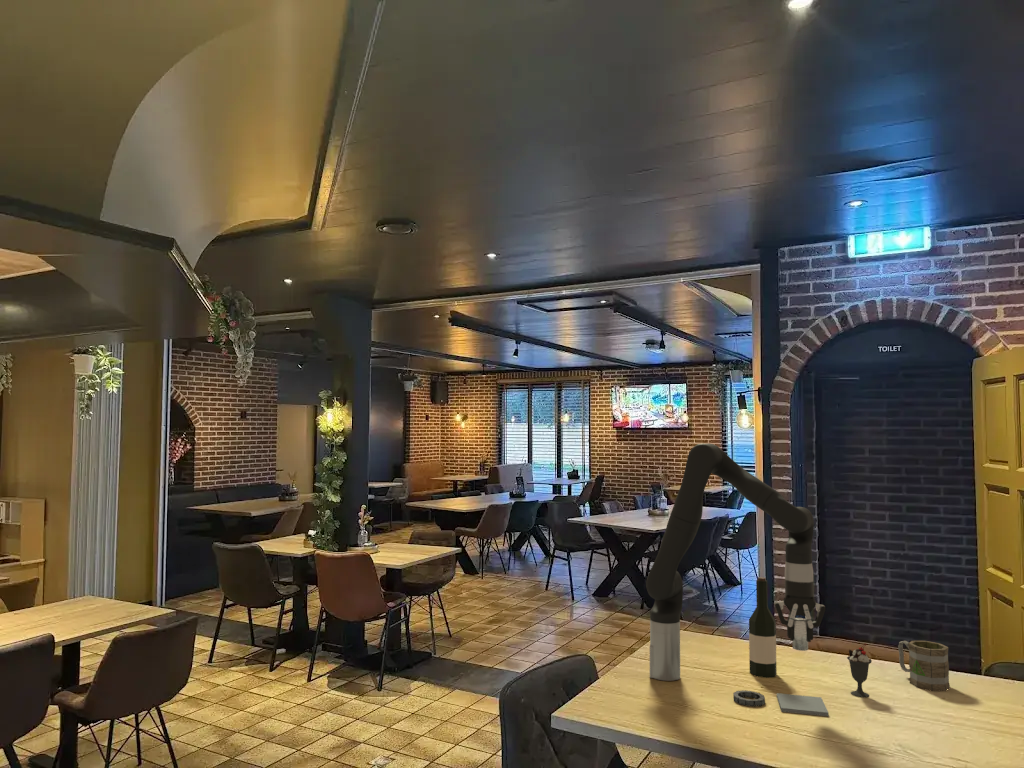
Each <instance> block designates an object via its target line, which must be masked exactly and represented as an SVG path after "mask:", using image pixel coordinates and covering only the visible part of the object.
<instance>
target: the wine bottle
mask: <svg viewBox="0 0 1024 768" xmlns="http://www.w3.org/2000/svg"><path fill="white" fill-rule="evenodd" d="M755 581H756V584H755V585H756V586H755V589H756V607H755V609H754V610H753V612H752V613H751V616H750V617H749V619H748V639H749V640H748V642H749V643H748V644H749V646H748V649H749V651H748V652H749V654H748V655H749V659H748V660H749V674H751V675H752V674H753V676H754V675H755V676H754V677H757V676H758V677H759V678H766V679H769V678H776V676H777V670H778V669H777V625H776V624H777V622H776V621H777V620H776V619H775V617H774V615H773V613H772V612H771V610H770V608H769V606H768V605H769V604H768V603H769V602H768V580H766V577H764V576H763V577H762V576H758V577H757V579H756V580H755Z"/></svg>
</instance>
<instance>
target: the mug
mask: <svg viewBox="0 0 1024 768" xmlns="http://www.w3.org/2000/svg"><path fill="white" fill-rule="evenodd" d="M904 645H905V647H907V648H908V649H907V650H908V652H909V654H908V655H909V658H908V668H907V667H906V664H905V655H904V654H905V653H904V647H903V646H904ZM897 647H898V656H899V657H898V659H899V666H900V668H901V670H903V672H904V673H909V682H908V683H909V684H910V685H912V686H914V687H916V688H917V689H922V690H925V689H926V690H927V691H930V690H931V691H930V692H947V691H948V690H949V688H950V689H951V685H950V680H949V679H950V676H949V675H950V663H949V647H948V646H946V645H944V644H942V643H940V642H934V641H930V640H929V641H928V640H911V641H910V642H909V641H907V640H902V641H899V642H898V646H897ZM947 689H948V690H947ZM946 690H947V691H946Z"/></svg>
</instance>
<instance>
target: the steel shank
mask: <svg viewBox="0 0 1024 768" xmlns="http://www.w3.org/2000/svg"><path fill="white" fill-rule="evenodd" d="M792 627H793V641H792V649H793V650H796V651H799V652H800V651H801V652H803V651H808V650H809V642H808V623H807V620H806V618H802V617H795V619H794V621H793V625H792Z"/></svg>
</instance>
